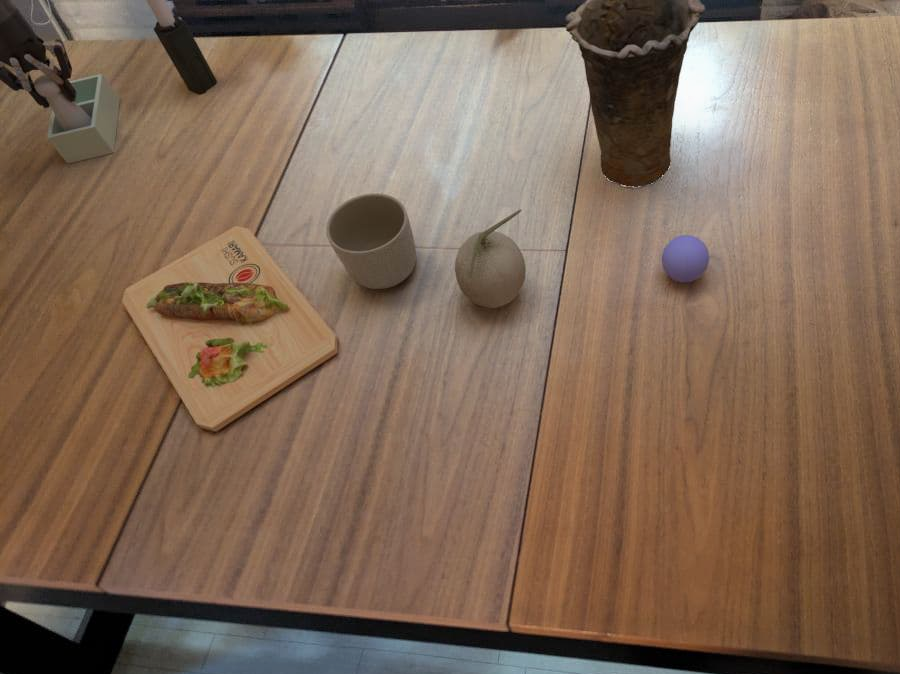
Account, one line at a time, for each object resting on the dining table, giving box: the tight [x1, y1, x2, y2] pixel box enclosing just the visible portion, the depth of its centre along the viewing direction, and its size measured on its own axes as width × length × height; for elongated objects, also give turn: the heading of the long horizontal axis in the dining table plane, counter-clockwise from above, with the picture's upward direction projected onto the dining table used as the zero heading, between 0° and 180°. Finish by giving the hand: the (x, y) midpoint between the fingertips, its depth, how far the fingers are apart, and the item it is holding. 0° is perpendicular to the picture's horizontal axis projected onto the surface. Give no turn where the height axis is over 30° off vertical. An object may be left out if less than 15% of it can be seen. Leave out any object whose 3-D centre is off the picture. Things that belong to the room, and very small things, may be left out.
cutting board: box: [121, 225, 339, 433], centre depth 109 cm, size 35×23×8 cm
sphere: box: [661, 234, 710, 283], centre depth 106 cm, size 7×7×7 cm
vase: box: [564, 0, 706, 187], centre depth 112 cm, size 18×18×27 cm
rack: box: [46, 73, 121, 165], centre depth 140 cm, size 9×17×6 cm, turn 14°
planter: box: [325, 192, 417, 290], centre depth 111 cm, size 12×12×11 cm
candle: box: [145, 0, 218, 95], centre depth 136 cm, size 5×5×25 cm
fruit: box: [454, 208, 527, 309], centre depth 104 cm, size 10×12×15 cm
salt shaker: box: [33, 74, 92, 132], centre depth 134 cm, size 6×6×13 cm
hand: (60, 101), depth 132 cm, fingers closed on salt shaker, 4 cm apart
